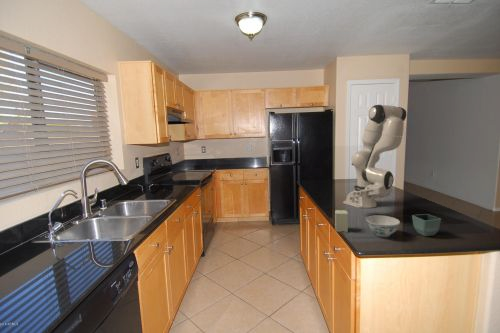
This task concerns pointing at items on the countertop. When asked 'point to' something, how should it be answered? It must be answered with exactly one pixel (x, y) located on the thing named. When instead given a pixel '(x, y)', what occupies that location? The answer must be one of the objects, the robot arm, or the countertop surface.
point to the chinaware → (383, 225)
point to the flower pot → (426, 224)
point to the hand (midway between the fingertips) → (358, 193)
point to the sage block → (341, 220)
